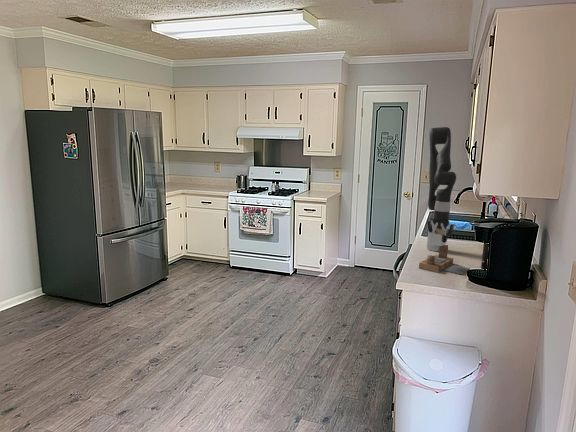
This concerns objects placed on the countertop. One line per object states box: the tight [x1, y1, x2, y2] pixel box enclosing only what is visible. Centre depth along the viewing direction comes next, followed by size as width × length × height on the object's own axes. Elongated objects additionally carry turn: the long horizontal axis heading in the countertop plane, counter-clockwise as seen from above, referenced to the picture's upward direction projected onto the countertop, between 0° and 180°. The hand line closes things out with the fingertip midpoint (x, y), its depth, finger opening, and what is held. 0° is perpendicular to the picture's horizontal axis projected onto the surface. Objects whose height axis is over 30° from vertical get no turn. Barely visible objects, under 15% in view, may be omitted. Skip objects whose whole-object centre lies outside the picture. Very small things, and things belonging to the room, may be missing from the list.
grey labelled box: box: [431, 229, 448, 246], centre depth 226 cm, size 8×5×7 cm, turn 140°
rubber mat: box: [443, 264, 471, 276], centre depth 222 cm, size 12×9×1 cm
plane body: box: [418, 244, 454, 273], centre depth 228 cm, size 22×10×10 cm, turn 140°
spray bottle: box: [480, 242, 489, 271], centre depth 221 cm, size 10×10×25 cm
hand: (439, 241), depth 226 cm, fingers closed on grey labelled box, 5 cm apart
